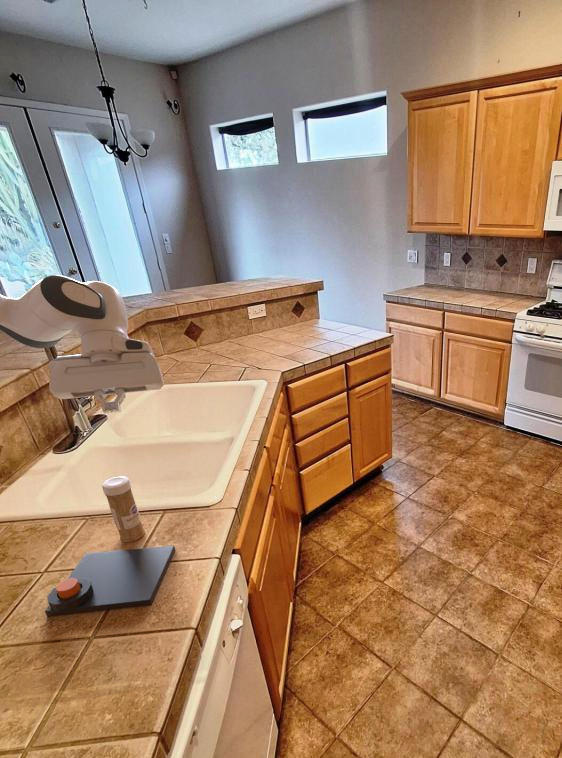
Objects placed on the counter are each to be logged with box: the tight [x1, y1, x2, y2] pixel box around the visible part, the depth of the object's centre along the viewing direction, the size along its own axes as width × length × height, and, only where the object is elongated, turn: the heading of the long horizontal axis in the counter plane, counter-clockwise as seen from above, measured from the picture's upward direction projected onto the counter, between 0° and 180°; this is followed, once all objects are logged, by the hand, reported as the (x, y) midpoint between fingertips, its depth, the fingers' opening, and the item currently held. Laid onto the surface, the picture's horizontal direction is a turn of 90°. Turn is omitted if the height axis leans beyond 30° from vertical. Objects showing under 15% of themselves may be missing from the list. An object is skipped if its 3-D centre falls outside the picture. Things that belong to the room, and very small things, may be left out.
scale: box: [44, 545, 177, 618], centre depth 77 cm, size 16×14×3 cm
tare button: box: [55, 577, 81, 599], centre depth 72 cm, size 3×3×2 cm
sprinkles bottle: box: [101, 475, 146, 543], centre depth 86 cm, size 5×5×13 cm
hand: (111, 411), depth 89 cm, fingers closed
